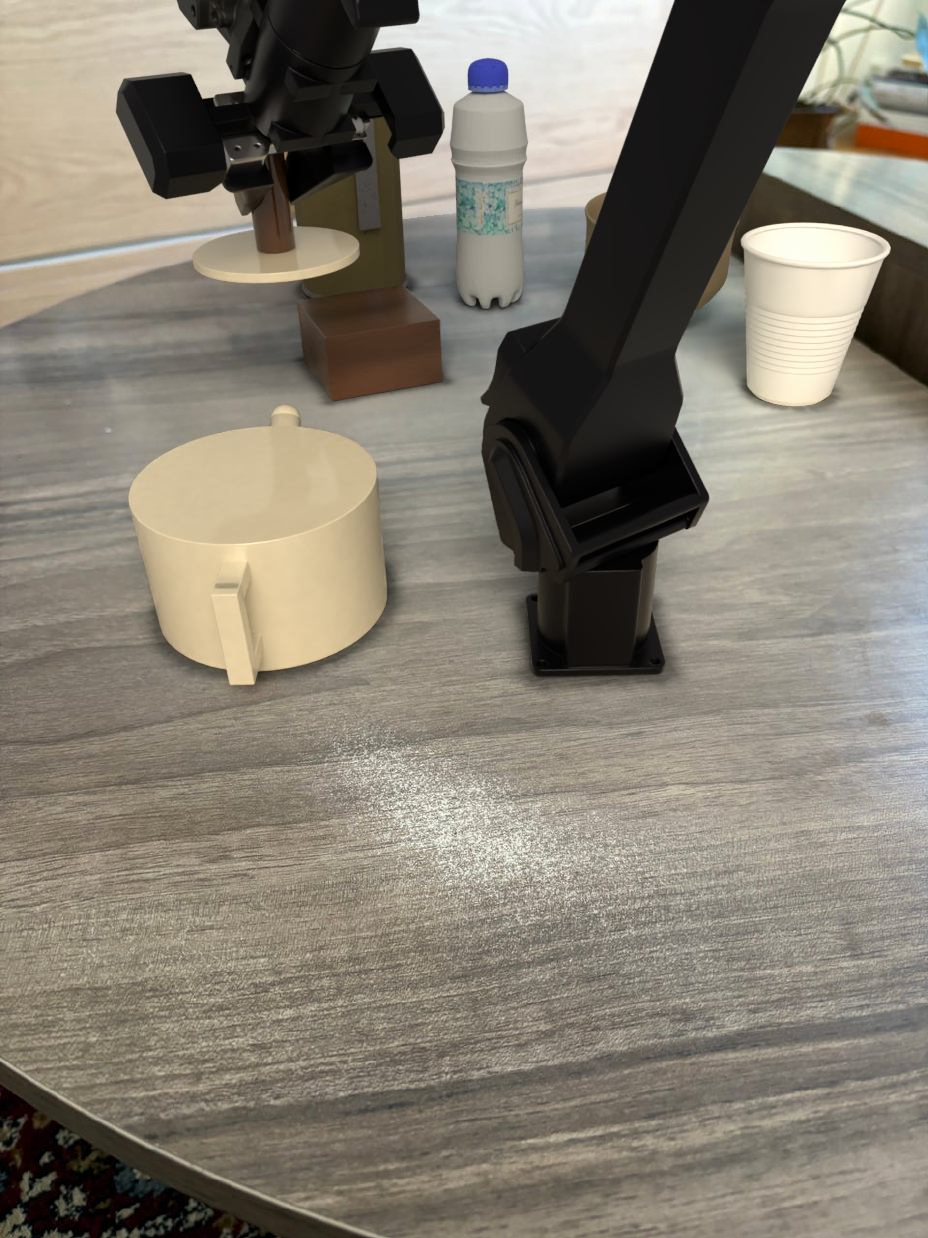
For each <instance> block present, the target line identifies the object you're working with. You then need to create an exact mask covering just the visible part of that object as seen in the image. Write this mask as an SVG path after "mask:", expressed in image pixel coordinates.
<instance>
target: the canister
mask: <svg viewBox="0 0 928 1238" xmlns="http://www.w3.org/2000/svg"><path fill="white" fill-rule="evenodd" d="M369 120H370V125H369V127H368V129H367V130H364V131H365V132H366V134H367V137H366V139H365V143H366V145H367V147H368V149H369V151H370V153H371V155H372V157H373V164H372V166H371V167H370V168H369V169H368V170H365V171H360V172H357V173H355V174H353V175H351V176H349V177H347V178H345V179H343V180H341V181H339V182H336V183H334V184H332V185H330V186H328V187H326V188H324V189H322V190H321V191H318V192H316V193H315V194H313V195H311V196H309V197H307V198H305V199H303V200H302V201H300V202H298V203H296V204H294V205H293V207H294V215H295V224H296V227H298V226H300V227H319V228H328V229H333V230H338V231H342V232H345V233H348V234H350V235H352V236H354V237H355V238H356V239H357V240H358V242H359V246H360V255H359V257H358V259H357V260H356V261H354V262H353V263H352V264H350V265H349V266H347V267H345V268H342V269H340V270H337V271H335V272H332V273H329V274H325V275H321V276H318V277H313V278H308V279H302V280H303V281H302V284H301V290H302V292H303V293H304V295H305V296H307V297H308V298H309V299H310V298H317V297H324V296H331V295H338V294H344V293H351V292H358V291H365V290H372V289H378V288H385V287H392V286H399V285H403V286H404V287H405V288H408V286H409V278H408V276H407V275H406V274H407V272H406V256H405V241H404V240H405V237H404V220H403V219H404V218H403V200H402V198H403V197H402V181H401V180H402V179H401V161H400V160H401V159H397V158H396V157H395V156H394V155H393V154H391V152H390V150H389V148H388V146H387V144H388V141H389V139H390V137H391V135H392V134H391V132H390V130H389V128H388V126H387V123H386V121H385V119H384V117H382V118H375V119H369Z"/></svg>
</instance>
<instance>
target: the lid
mask: <svg viewBox="0 0 928 1238" xmlns="http://www.w3.org/2000/svg"><path fill="white" fill-rule="evenodd" d="M285 159H286V156H285V152H283V153H277V152H276V150H275V148H274V147H271V148H269V153H268V155H267V157H266V158H265V161H264V162H265V164H266V166H267V168H268V170H269V172H270V175H271V177H272V179H273V181H274V185H273V187H272V188H271V189H270V190H269V192H268V193H267V194H266V195H265V196H264V198H263V199H262V200H261V201H260V203H259V204H258V205H257V207H256V208H255V209H254V210H253V211H252V212H251V213H250V214H251V222H252V228H253V229H249V230H244V231H239V232H234V233H230V234H226V235H223V236H220V237H216V238H214V239H212V240H209V241H207V242H205V243H203V244H202V245H199V247H197V248H196V249H195V250H194V252H193V253H192V264H193V267H194V269H195V271H196V272H197V273H199V274H200V275H202V276H204V277H207V278H210V279H212V280H217V281H223V282H229V283H239V284H275V283H287V282H295V281H301V280H303V279H308V278H313V277H318V276H321V275H325V274H329V273H332V272H335V271H337V270H340V269H342V268H345V267H347V266H349V265H350V264H352V263H353V262H354V261H356V260H357V259H358V257H359V255H360V246H359V242H358V240H357V239H356V238H355V237H354V236H352V235H350V234H348V233H345V232H342V231H338V230H333V229H328V228H319V227H300V226H298V227H297V226H294V220H293V212H292V206H291V203H290V195H289V187H288V179H287V171H286V163H285Z"/></svg>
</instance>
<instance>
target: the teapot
mask: <svg viewBox="0 0 928 1238" xmlns="http://www.w3.org/2000/svg"><path fill="white" fill-rule="evenodd" d="M378 476H379V475H378V469H377V464H376V462H375V460H374V458H373V457H372V455H371V454H370V453H369V452H368V451H367V450H366V449H365V448H364V447H363V446H361V445H360V444H359V443H357V442H355V441H354V440H352V439H350V438H348V437H345V436H343V435H340V434H337V433H334V432H330V431H327V430H323V429H317V428H312V427H304V426H302V416H301V413H300V411H299V410H298V409H297V408H296V407H295V406H293V405H292V404H291V405H290V404H287V403H285V404H280V405H278V406H276V407H275V408H274V409H273V410H272V411H271V414H270V418H269V425H266V426H253V427H245V428H244V427H243V428H237V429H232V430H226V431H222V432H219V433H213V434H210V435H205V436H203V437H199V438H197V439H194V440H190V441H188V442H185V443H183V444H181V445H178V446H176V447H174V448H172V449H170V450H168V451H166V452H165V453H163V454H161V455H160V456H158V457H157V458H155V459H153V460H151V462H150V463H148V464H147V465H145V467H144V468H143V469H142V470H141V471H140V472H138V474H137V475H136V476H135V478H134V480H133V481H132V484H131V485H130V488H129V490H128V497H127V500H128V507H129V512H130V515H131V519H132V523H133V527H134V530H135V534H136V538H137V542H138V546H139V550H140V554H141V558H142V562H143V565H144V571H145V573H146V574H145V575H146V577H147V581H148V585H149V589H150V593H151V597H152V601H153V604H154V609H155V612H156V617H157V619H158V624H159V628H160V630H161V632H162V635H163V637H164V638H165V639H166V641H167V642H168V644H169V645H170V646H171V647H172V648H173V649H174V650H176V651H177V652H178V653H179V654H181V655H183V656H184V657H186V658H188V659H190V660H191V661H194V662H196V663H198V664H202V665H205V666H208V667H211V668H216V669H221V670H226V674H227V678H228V684H229V685H230V686H253V685H254V686H255V684H256V680H257V676H258V673H259V672H270V671H278V670H285V669H291V668H296V667H300V666H304V665H308V664H311V663H314V662H317V661H320V660H324V659H325V658H329V657H330V656H333V655H335V654H337V653H338V652H341V651H343V650H345V649H347V648H349V647H350V646H351V645H353V644H354V643H356V642H357V641H359V640H360V639H361V638H362V637H364V636H365V635H366V634H367V633H368V632H369V631H370V630H371V629H373V627H374V626H375V625H376V624H377V622H378V621H379V619H380V618H381V616H382V615H383V612H384V610H385V608H386V605H387V601H388V600H387V599H388V583H387V571H386V558H385V547H384V535H383V523H382V522H383V521H382V511H381V502H380V501H381V499H380V488H379V477H378Z"/></svg>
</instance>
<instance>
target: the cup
mask: <svg viewBox="0 0 928 1238" xmlns="http://www.w3.org/2000/svg"><path fill="white" fill-rule="evenodd" d="M740 245H741V248H742V249H743V261H744V262H743V263H744V264H743V265H744V268H743V271H744V296H745V299H744V301H745V302H744V303H745V305H744V306H745V307H744V308H745V341H746V342H745V346H746V351H745V352H746V386H747V388H748V389H749V390H750V391H751V393H752V394H753V395H754V396H755V397H756V398H758V399H761V401H764V402H767V403H770V404H774V405H778V406H784V407H805V406H806V407H807V406H812V405H816V404H817V403H820V402H821V401H824V400H825V399H826V398H828V397H829V396H831V394H832V392H833V390H834V387H835V384H836V381H837V379H838V377H839V374H840V371H841V368H842V365H843V363H844V360H845V358H846V356H847V353H848V351H849V347H850V345H851V342H852V339H853V338H854V335H855V332H856V330H857V326H858V325H859V321H860V319H861V318H862V313H863V312H864V310H865V306H866V305H867V303H868V300H869V298H870V295H871V293H872V290H873V288H874V285H875V282H876V281H877V278H878V274H879V272H880V270H881V267H882V265H883V262H884V260H885V258H887V257H888V256H889V255H890V253H891V249H892V248H891V246H890V242H889V241H887V240H886V239H885V238H883V237H881V236H880V235H878V234H876V233H874V232H870V231H867V230H864V229H861V228H856V227H852V226H846V225H842V224H841V225H840V224H834V223H833V224H832V223H821V222H784V223H773V224H768V225H763V226H760V227H756V228H753V229H751V230H749V231H747V232H745V233H744V234H743V235H742V236H741V238H740Z"/></svg>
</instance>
